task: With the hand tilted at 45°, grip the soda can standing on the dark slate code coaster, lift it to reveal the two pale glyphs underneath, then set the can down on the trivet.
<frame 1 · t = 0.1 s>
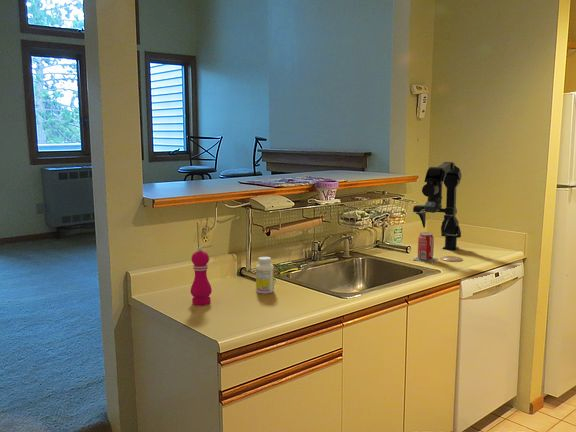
hand: (433, 228, 251), 15 cm above the worktop, tool pointing down, fingers open, 9 cm apart
code coaster: (425, 259, 254), on the worktop
soda can: (425, 259, 254), resting on code coaster
trivet: (451, 259, 254), on the worktop
pepper mill: (201, 303, 191), on the worktop
supplement bottle: (265, 292, 204), on the worktop
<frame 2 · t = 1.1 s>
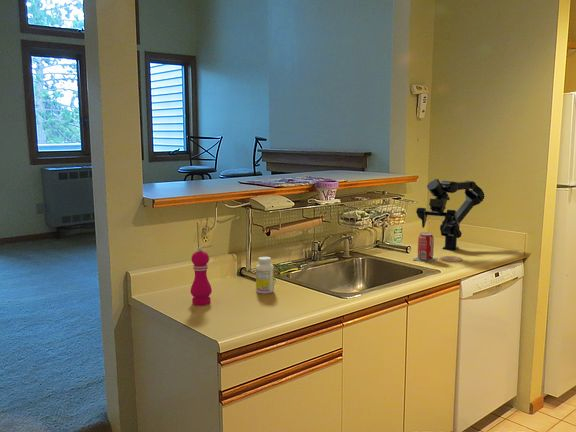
hand: (432, 228, 259), 13 cm above the worktop, tool tilted 45°, fingers open, 9 cm apart
nothing on the worktop moved.
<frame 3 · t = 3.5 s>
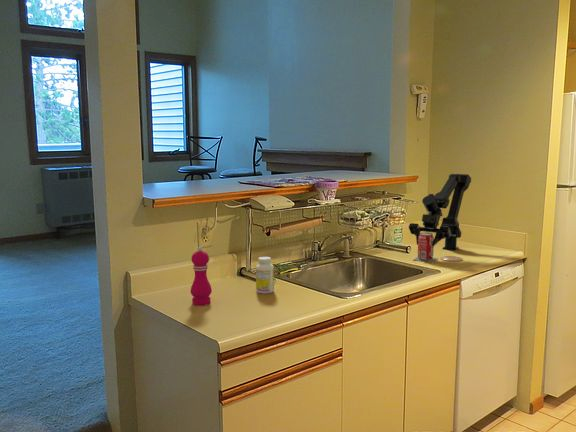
hand: (424, 245, 251), 7 cm above the worktop, tool tilted 45°, fingers closed on soda can, 7 cm apart
soda can: (425, 259, 254), resting on code coaster, touching gripper
everything else where it was.
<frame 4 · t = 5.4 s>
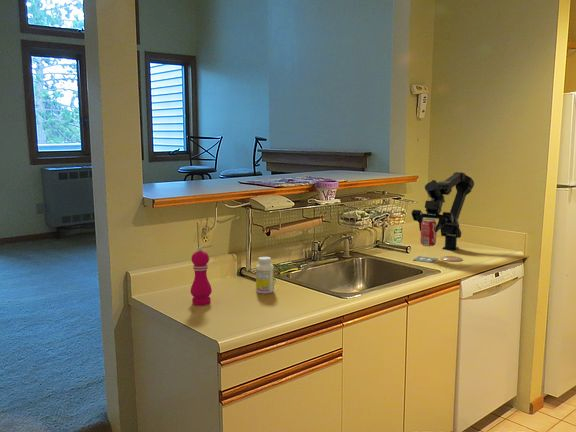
hand: (427, 231, 252), 13 cm above the worktop, tool tilted 45°, fingers closed on soda can, 7 cm apart
soda can: (427, 245, 254), point 6 cm above the worktop, touching gripper
everything else where it was.
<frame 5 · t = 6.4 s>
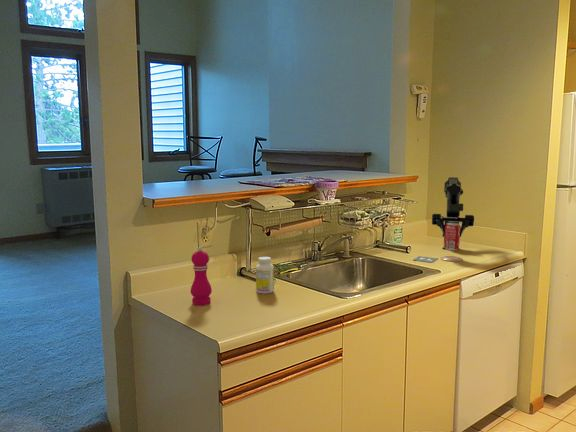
hand: (452, 234, 251), 12 cm above the worktop, tool tilted 45°, fingers closed on soda can, 7 cm apart
soda can: (450, 249, 254), point 5 cm above the worktop, touching gripper
everything else where it was.
when the fingers open (9 cm above the worktop, at t = 7.4 s): soda can drops 1 cm, resting on trivet.
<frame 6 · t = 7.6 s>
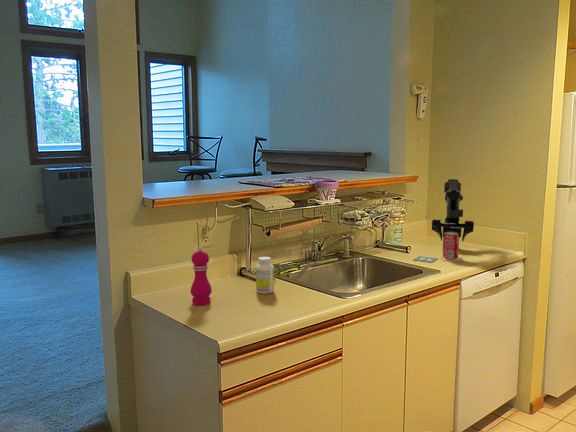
hand: (452, 240, 251), 9 cm above the worktop, tool tilted 45°, fingers open, 9 cm apart
soda can: (450, 258, 254), resting on trivet
everything else where it was.
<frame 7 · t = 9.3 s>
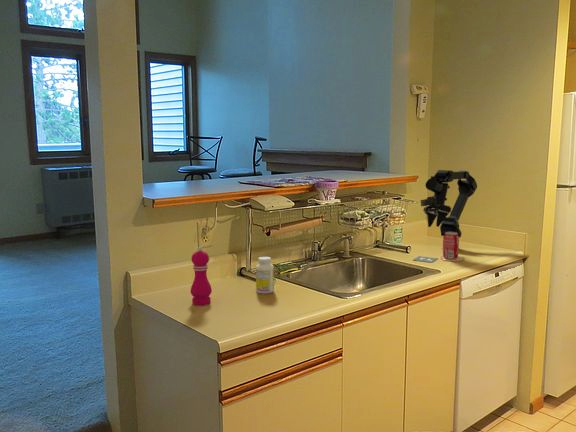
hand: (433, 226, 263), 13 cm above the worktop, tool tilted 20°, fingers open, 9 cm apart
nothing on the worktop moved.
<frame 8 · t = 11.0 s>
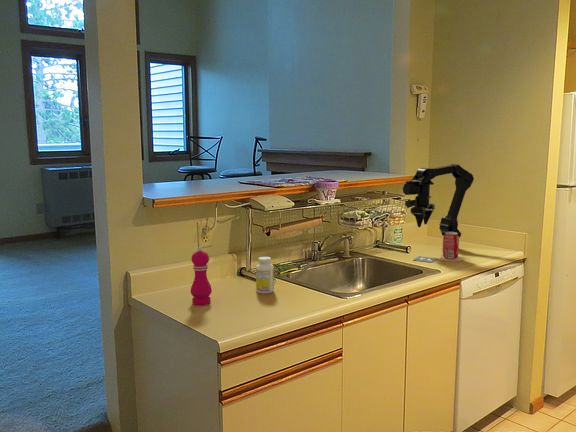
hand: (422, 225, 268), 13 cm above the worktop, tool pointing down, fingers open, 9 cm apart
nothing on the worktop moved.
at the end: soda can 0.5 cm from the trivet (horizontally); soda can tilted 0°; the gripper is holding nothing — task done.
